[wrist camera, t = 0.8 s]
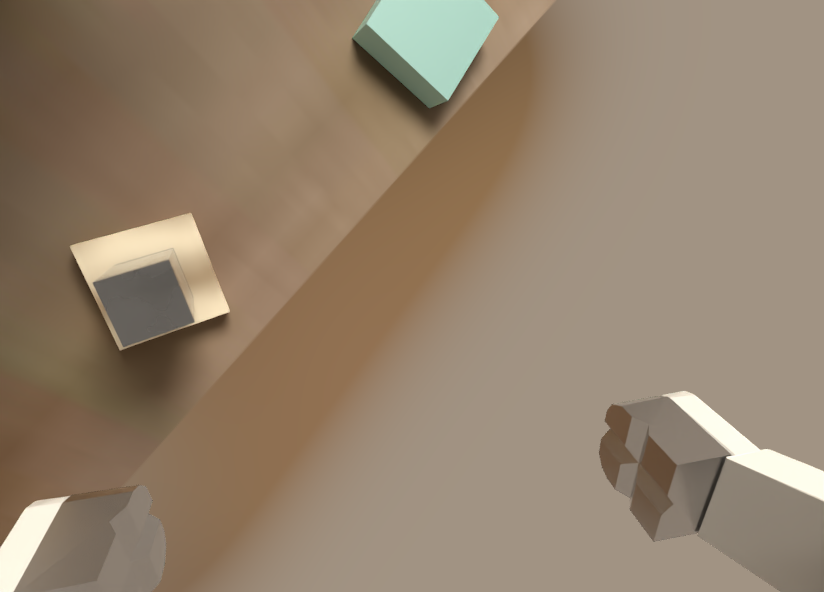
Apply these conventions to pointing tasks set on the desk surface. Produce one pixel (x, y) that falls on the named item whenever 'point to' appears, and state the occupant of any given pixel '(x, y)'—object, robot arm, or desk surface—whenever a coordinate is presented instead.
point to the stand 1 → (150, 240)
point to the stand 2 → (426, 42)
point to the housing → (146, 296)
